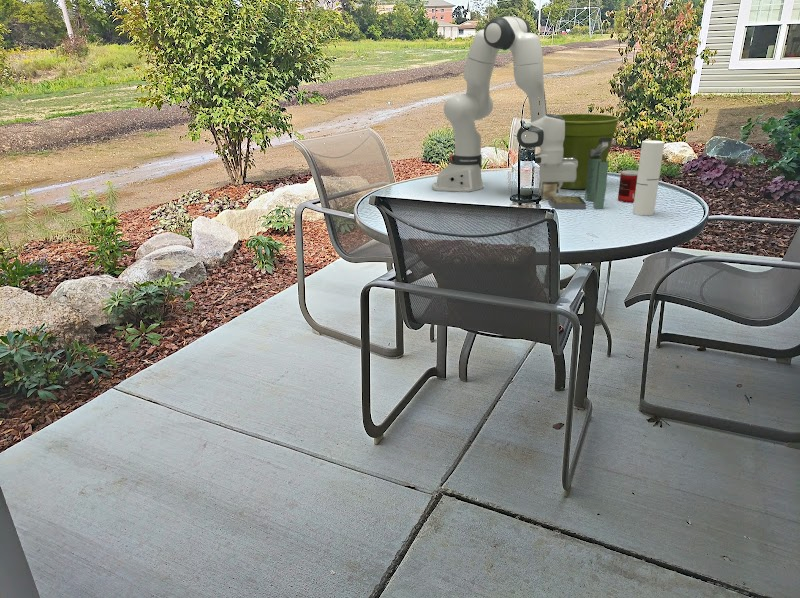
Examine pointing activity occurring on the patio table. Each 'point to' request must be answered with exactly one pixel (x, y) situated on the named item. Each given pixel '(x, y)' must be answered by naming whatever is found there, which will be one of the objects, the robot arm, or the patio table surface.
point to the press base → (587, 188)
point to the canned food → (627, 185)
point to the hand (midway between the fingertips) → (548, 192)
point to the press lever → (600, 147)
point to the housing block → (548, 190)
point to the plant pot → (585, 141)
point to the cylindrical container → (648, 177)
